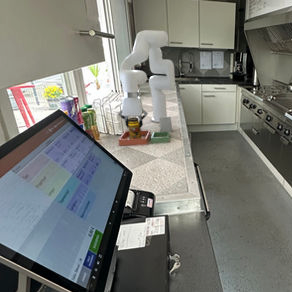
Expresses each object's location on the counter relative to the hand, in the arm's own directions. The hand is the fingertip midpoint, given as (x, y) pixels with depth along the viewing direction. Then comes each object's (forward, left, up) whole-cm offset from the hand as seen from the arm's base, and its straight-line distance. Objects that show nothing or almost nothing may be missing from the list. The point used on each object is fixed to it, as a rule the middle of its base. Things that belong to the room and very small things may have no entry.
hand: (134, 126), depth 134 cm
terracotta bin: (0, 0, -8) cm, 8 cm away
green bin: (+1, +14, -8) cm, 16 cm away
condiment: (0, -1, -7) cm, 7 cm away
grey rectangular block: (-14, +16, -8) cm, 23 cm away
